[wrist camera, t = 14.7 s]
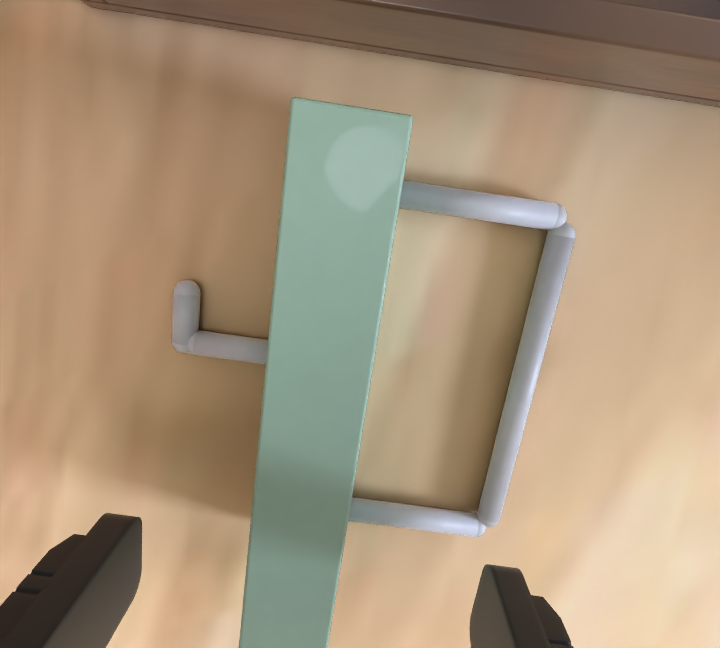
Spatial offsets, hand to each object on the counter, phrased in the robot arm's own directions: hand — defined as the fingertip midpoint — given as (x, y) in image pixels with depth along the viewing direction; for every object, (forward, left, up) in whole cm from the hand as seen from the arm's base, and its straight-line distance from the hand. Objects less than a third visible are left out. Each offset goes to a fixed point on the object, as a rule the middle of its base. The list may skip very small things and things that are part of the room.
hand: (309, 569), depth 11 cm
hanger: (0, -3, -6) cm, 7 cm away
